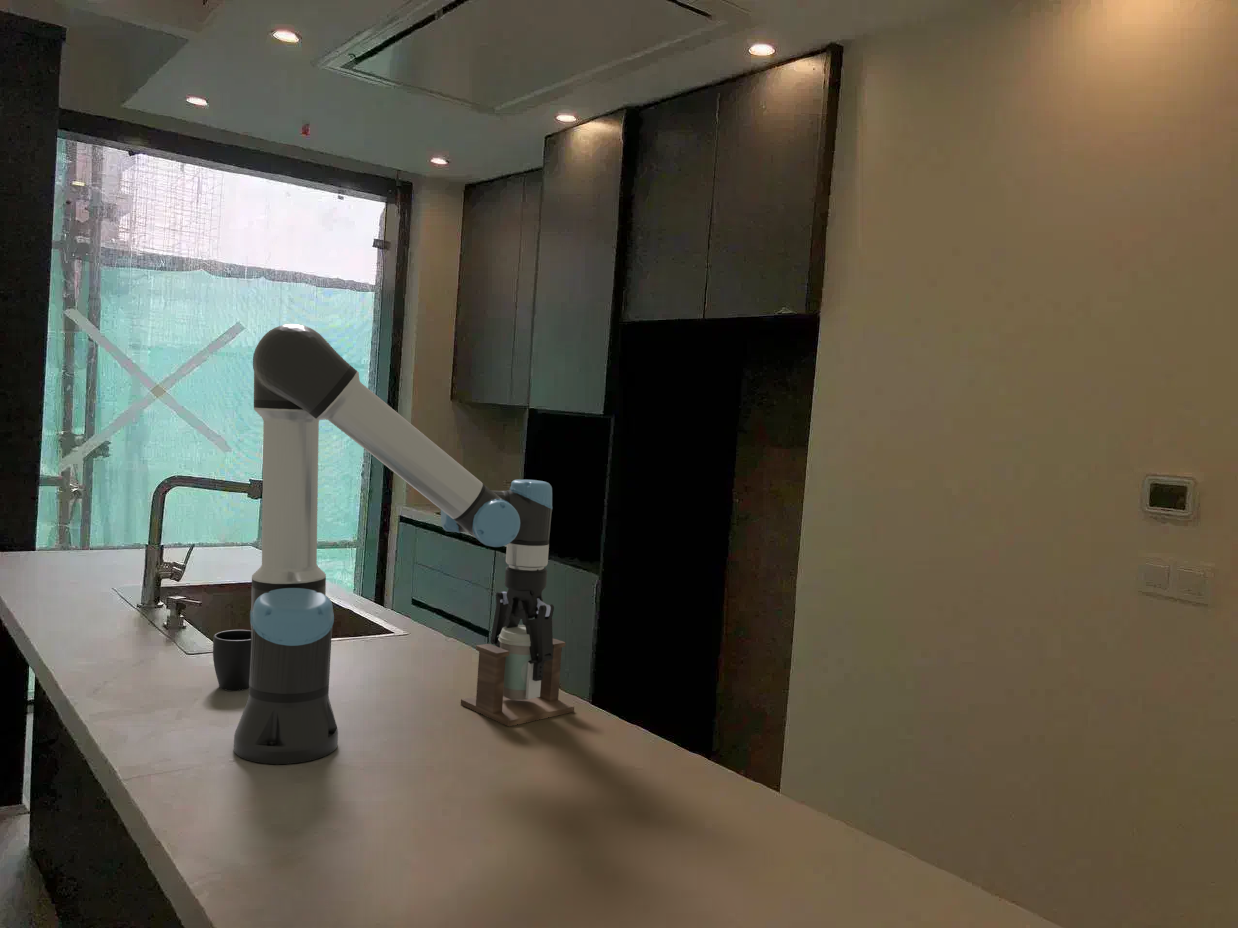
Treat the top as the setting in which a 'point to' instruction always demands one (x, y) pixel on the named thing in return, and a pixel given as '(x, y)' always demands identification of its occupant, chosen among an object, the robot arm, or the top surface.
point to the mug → (232, 659)
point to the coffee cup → (515, 661)
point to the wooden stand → (513, 710)
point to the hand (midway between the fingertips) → (518, 691)
